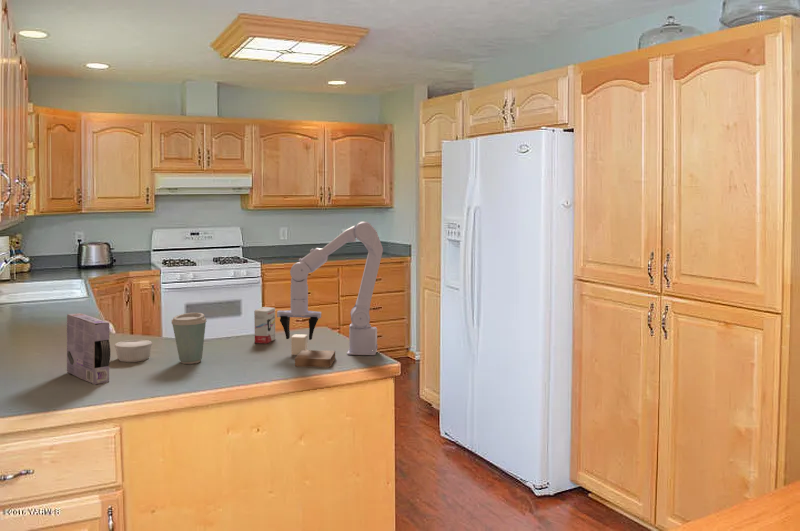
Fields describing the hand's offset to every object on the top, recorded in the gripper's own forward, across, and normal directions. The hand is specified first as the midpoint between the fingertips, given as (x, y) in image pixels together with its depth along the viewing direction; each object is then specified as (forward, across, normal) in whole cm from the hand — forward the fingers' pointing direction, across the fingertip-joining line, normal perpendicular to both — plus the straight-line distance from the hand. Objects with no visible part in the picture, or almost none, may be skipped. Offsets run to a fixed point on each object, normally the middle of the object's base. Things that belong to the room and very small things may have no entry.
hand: (299, 338), depth 234 cm
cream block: (+5, 0, 0) cm, 5 cm away
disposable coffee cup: (+5, +32, +15) cm, 36 cm away
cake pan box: (+6, +54, +36) cm, 65 cm away
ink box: (+5, +16, -17) cm, 24 cm away
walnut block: (+5, -8, +12) cm, 15 cm away
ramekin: (+6, +51, +13) cm, 53 cm away
